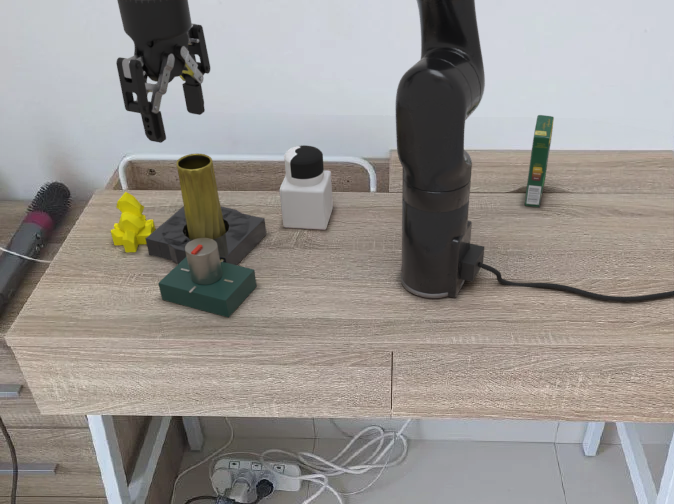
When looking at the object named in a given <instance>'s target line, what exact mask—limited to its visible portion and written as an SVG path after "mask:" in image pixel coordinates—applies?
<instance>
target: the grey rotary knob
mask: <svg viewBox="0 0 674 504" xmlns="http://www.w3.org/2000/svg"><path fill="white" fill-rule="evenodd" d="M185 251H186V256H187V261H188V266H189V271H190V275H191V279H192V281H193V282H194V283H197V284H200V285H208V284H212V283H215V282H217V281H218V280H220V279H221V277H222V269H221V263H220V257H219V252H218V246H217V243H216V241H214V240H213V239H210V238H198V239H194V240H192V241H190V242H188V243H187V244H186V246H185Z"/></svg>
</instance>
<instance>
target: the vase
mask: <svg viewBox="0 0 674 504" xmlns="http://www.w3.org/2000/svg"><path fill="white" fill-rule="evenodd" d="M213 161H214V160H213V158H212V157H211V156H210V155H207V154H205V153H190V154H185V155H184V156H181V157H180V158H178V159H177V161H175V162H176V163H175V165H176V169H177V175H178V181H179V186H180V192H181V199H182V203H183V204H182V205H183V206H184V211H185V217H186V223H187V229H188V234H189V239H192V240H194V239H198V238H210V239H216V238H218V237H221V236H223V235H224V234H225V233H226V230H225V225H224V221H223V217H222V211H221V201H220V197H219V196H220V195H219V191H218V185H217V180H216V174H215V167H214V162H213Z"/></svg>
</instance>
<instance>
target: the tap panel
mask: <svg viewBox="0 0 674 504" xmlns="http://www.w3.org/2000/svg"><path fill="white" fill-rule="evenodd" d="M223 261H224V260H223V259H221V260H220V263H221V269H222V277H221V279H220V280H218V281H217V282H215V283H212V284H208V285H200V284H197V283H194V282H193V281H192V279H191V275H190V271H189V266H188V261H187V257H185V258H184V259H183V260H182V261H181V262H180V263H179V264H176V266H175V267H173V268H172V269H171V270H170V271H169V272H168V273H166V275H165V276H164V277H163V278H162V279H161V280H159V281H158V283H157V284H158V288H159V292H160V296H161V300H162V301H165V302H169V303H173V304H177V305H180V306H183V307H187V308H192V309H194V310H199V311H203V312H207V313H210V314H214V315H219V316H222V317H225V318H230V317H231V316H232V314H234V312H235V311H236V310H237V309H238V308H239V306H241V304H242V303H244V301H245V300H246V299H247V298H248V296H250V294H251V293H252V292H253V291H255V289H256V288H257V286H258V285H257V278H256V271H255V269H253V268H249V267H245V266H241V265H238V264H237V265H233V264H229V263H225V262H223Z"/></svg>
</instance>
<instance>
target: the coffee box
mask: <svg viewBox="0 0 674 504" xmlns="http://www.w3.org/2000/svg"><path fill="white" fill-rule="evenodd" d="M554 120H555V117H554V116H551V115H543V114H538V115H537V117H536V122H535V128H534V133H533V138H532V144H531V145H532V146H531V153H530V161H529V168H528V175H527V183H526V190H525V199H524V206H525V207H533V208H540V207H541V202H542V198H543V195H544V190H545V188H544V187H545V181H546V175H547V170H548V163H549V157H550V150H551V143H552V136H553V129H554Z"/></svg>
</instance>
